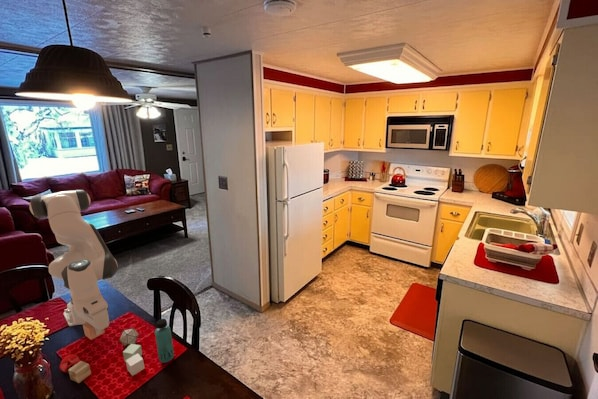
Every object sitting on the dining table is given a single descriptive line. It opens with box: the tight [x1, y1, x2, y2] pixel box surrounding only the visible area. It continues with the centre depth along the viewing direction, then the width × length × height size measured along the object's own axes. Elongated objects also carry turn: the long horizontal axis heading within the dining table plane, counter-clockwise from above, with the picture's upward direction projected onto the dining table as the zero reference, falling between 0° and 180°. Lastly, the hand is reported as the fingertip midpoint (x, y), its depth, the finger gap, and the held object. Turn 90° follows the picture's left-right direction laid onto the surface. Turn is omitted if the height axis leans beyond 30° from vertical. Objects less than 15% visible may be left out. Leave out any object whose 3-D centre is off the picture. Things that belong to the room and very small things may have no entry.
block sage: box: [122, 344, 143, 362], centre depth 131 cm, size 5×5×5 cm
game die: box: [117, 326, 141, 348], centre depth 138 cm, size 9×8×10 cm
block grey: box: [125, 353, 146, 377], centre depth 125 cm, size 5×5×5 cm
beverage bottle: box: [154, 318, 175, 363], centre depth 127 cm, size 6×7×20 cm
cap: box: [59, 354, 81, 373], centre depth 126 cm, size 8×6×6 cm
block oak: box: [67, 360, 92, 384], centre depth 121 cm, size 5×5×5 cm
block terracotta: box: [82, 323, 106, 341], centre depth 118 cm, size 5×5×5 cm
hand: (94, 330), depth 118 cm, fingers closed on block terracotta, 5 cm apart
